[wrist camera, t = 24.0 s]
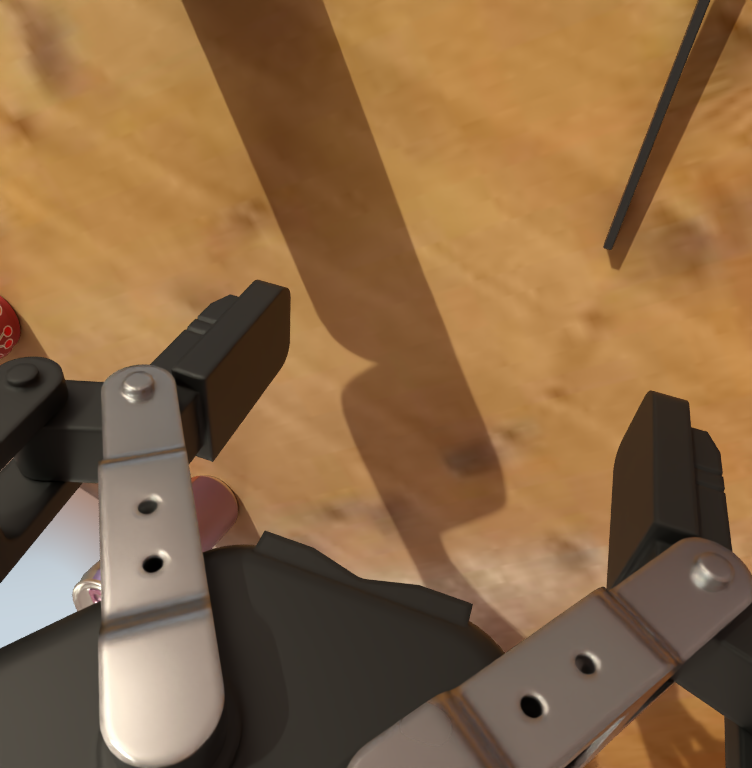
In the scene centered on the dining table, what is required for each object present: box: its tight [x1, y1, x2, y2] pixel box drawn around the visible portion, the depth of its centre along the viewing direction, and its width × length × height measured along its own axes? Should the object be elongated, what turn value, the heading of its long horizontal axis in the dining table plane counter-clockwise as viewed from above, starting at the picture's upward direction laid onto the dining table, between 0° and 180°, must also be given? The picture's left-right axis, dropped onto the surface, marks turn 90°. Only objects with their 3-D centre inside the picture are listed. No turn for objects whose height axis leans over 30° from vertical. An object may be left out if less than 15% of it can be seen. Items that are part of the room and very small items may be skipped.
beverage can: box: [72, 476, 238, 611], centre depth 54 cm, size 6×6×15 cm
